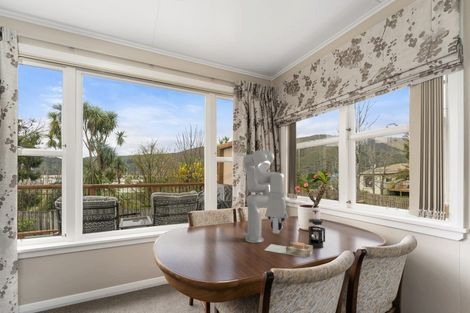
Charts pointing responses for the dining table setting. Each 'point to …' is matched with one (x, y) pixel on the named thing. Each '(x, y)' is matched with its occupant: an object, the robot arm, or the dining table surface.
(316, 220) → the french press
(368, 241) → the dining table surface
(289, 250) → the frame
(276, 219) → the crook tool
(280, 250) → the mat
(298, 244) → the block
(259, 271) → the dining table surface
